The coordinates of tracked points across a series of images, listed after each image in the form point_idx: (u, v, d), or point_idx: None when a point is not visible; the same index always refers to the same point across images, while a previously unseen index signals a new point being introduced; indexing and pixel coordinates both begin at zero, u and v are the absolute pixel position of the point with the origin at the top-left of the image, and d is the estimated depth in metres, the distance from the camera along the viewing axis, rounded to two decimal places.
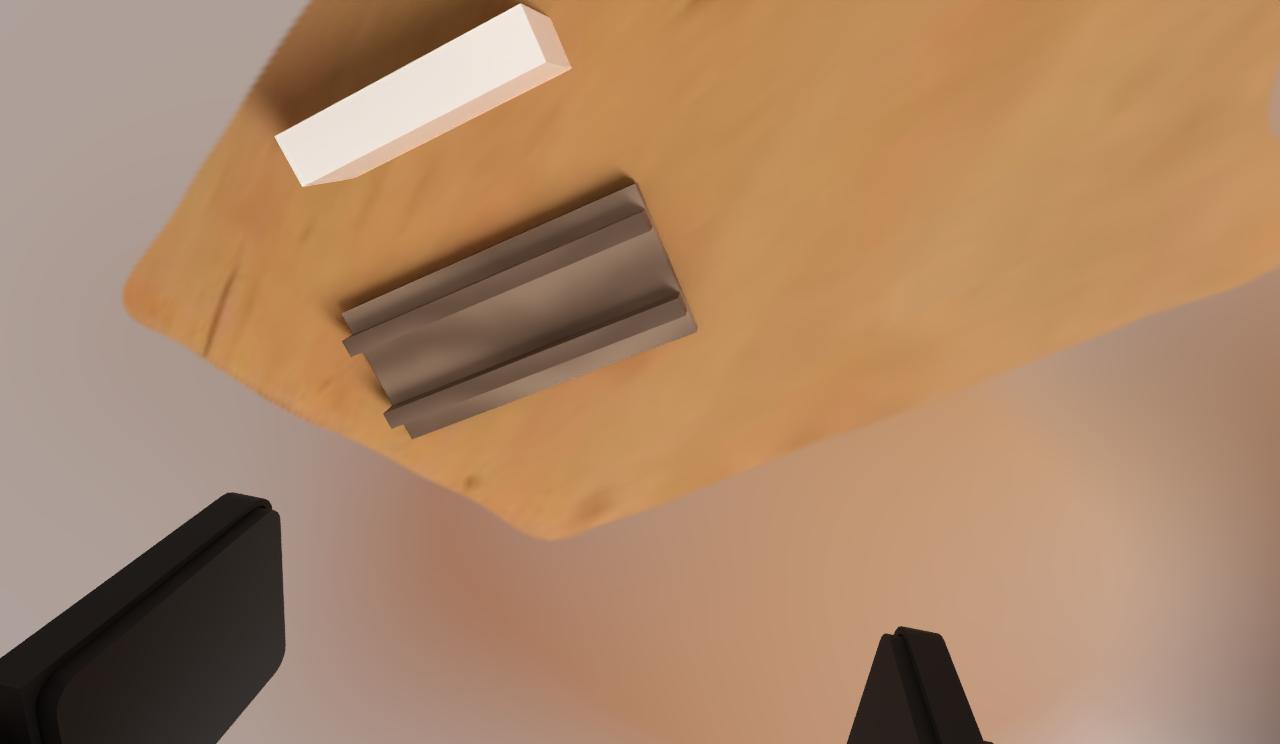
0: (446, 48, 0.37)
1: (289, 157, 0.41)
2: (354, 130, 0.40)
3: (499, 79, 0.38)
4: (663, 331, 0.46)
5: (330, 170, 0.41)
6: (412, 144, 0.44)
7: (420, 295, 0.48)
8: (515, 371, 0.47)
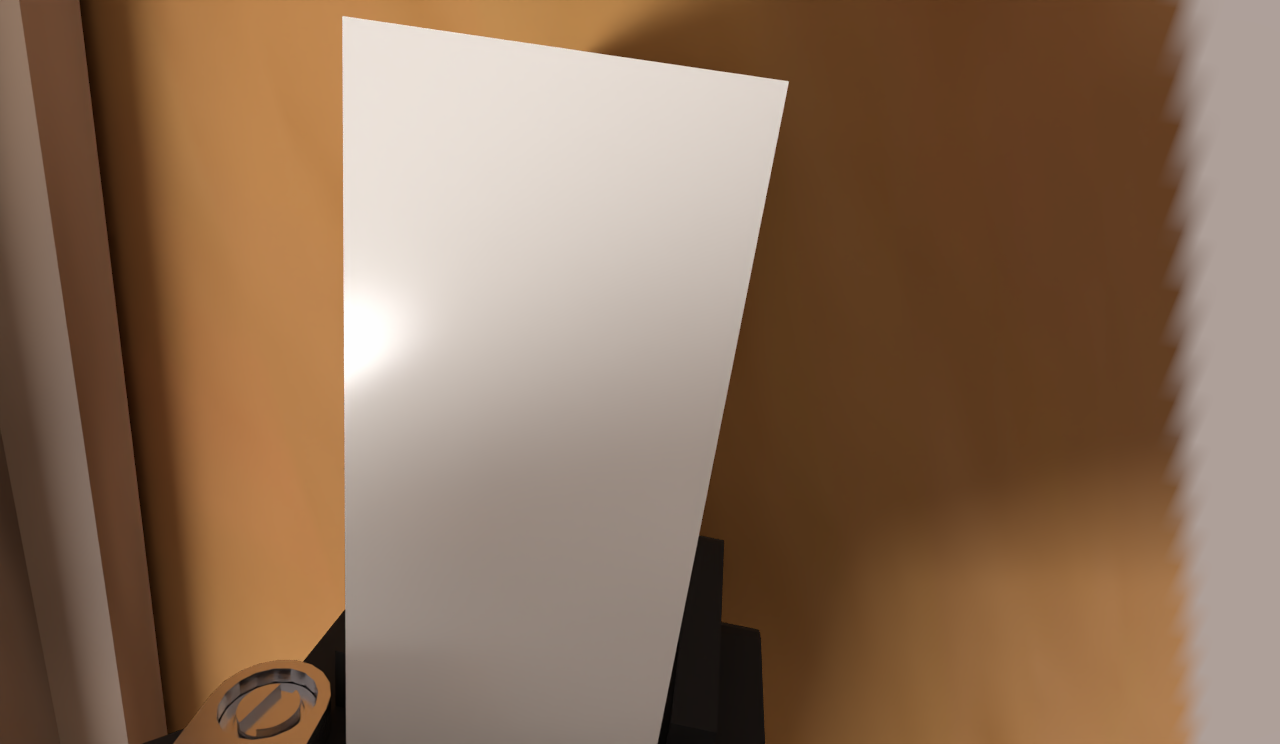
0: None
1: (584, 88, 0.05)
2: (491, 608, 0.06)
3: None
4: None
5: (357, 314, 0.06)
6: None
7: None
8: None
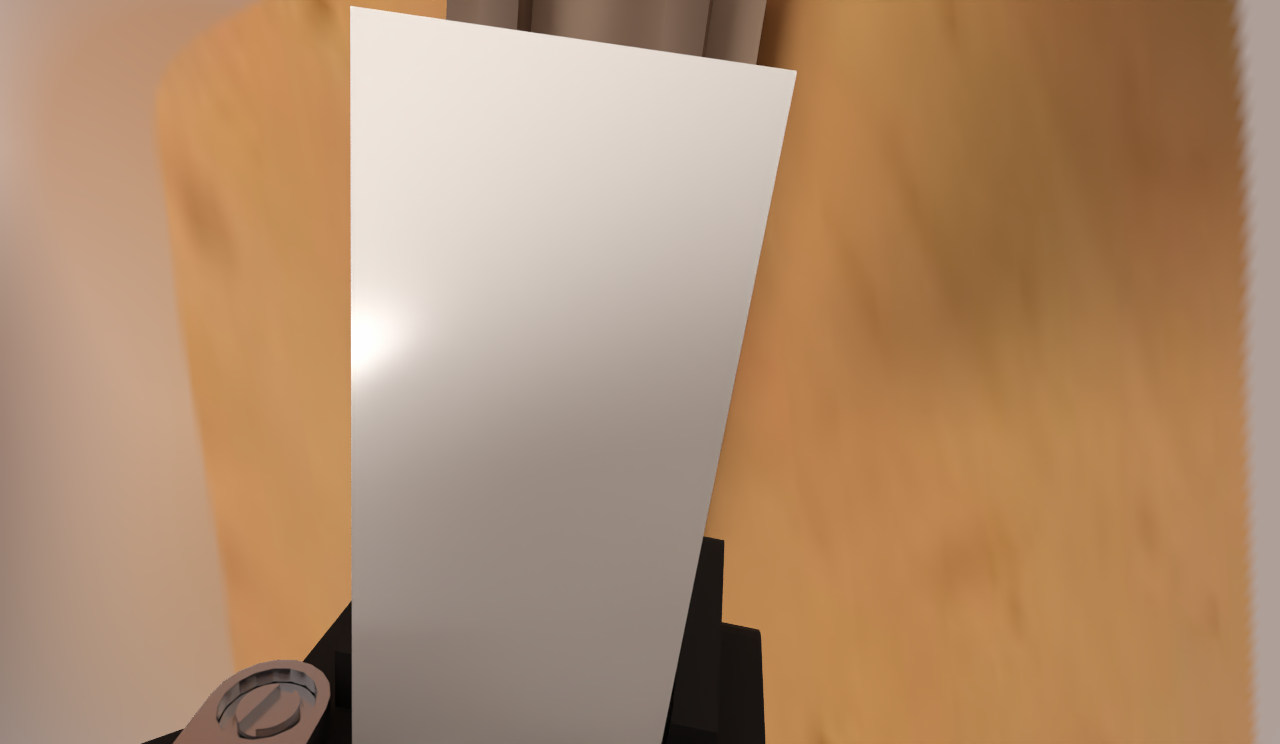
0: None
1: (593, 78, 0.05)
2: (497, 598, 0.06)
3: None
4: None
5: (363, 304, 0.06)
6: None
7: None
8: None
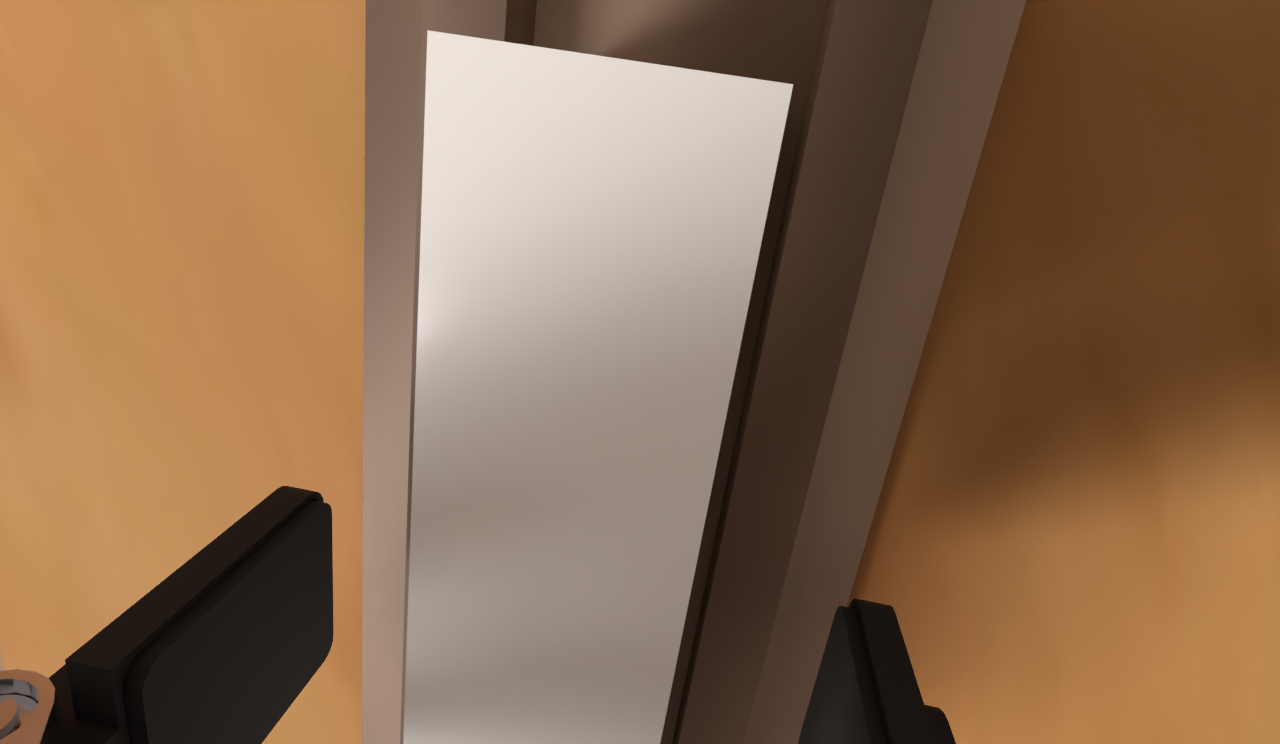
0: None
1: (626, 89, 0.06)
2: (537, 533, 0.07)
3: None
4: None
5: (430, 278, 0.07)
6: None
7: (873, 304, 0.12)
8: None
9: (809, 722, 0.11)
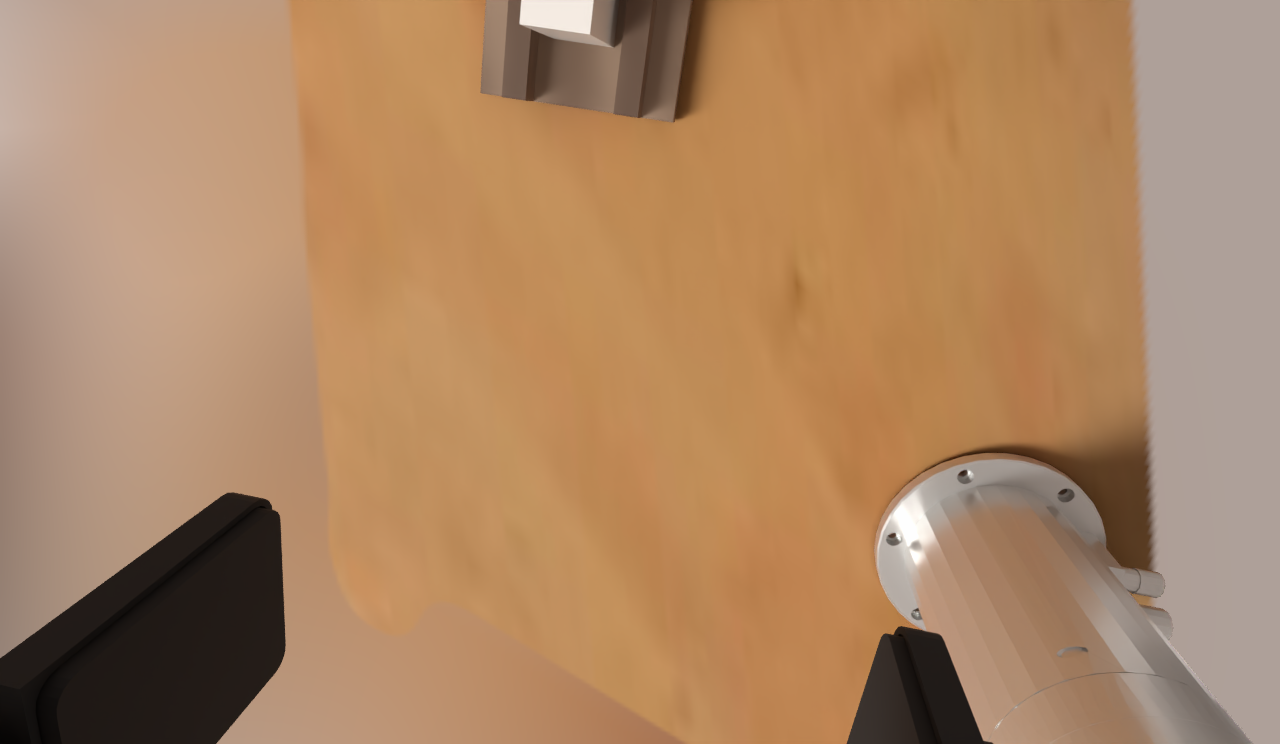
0: None
1: None
2: None
3: None
4: (498, 53, 0.36)
5: None
6: None
7: None
8: None
9: None
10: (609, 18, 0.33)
